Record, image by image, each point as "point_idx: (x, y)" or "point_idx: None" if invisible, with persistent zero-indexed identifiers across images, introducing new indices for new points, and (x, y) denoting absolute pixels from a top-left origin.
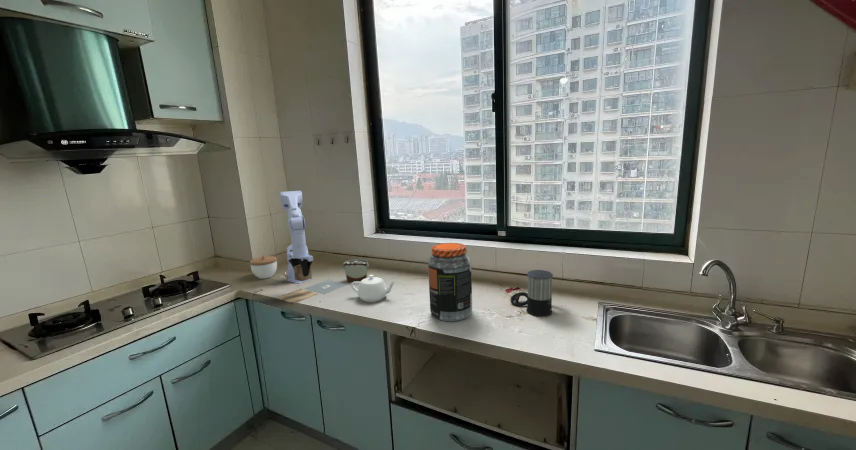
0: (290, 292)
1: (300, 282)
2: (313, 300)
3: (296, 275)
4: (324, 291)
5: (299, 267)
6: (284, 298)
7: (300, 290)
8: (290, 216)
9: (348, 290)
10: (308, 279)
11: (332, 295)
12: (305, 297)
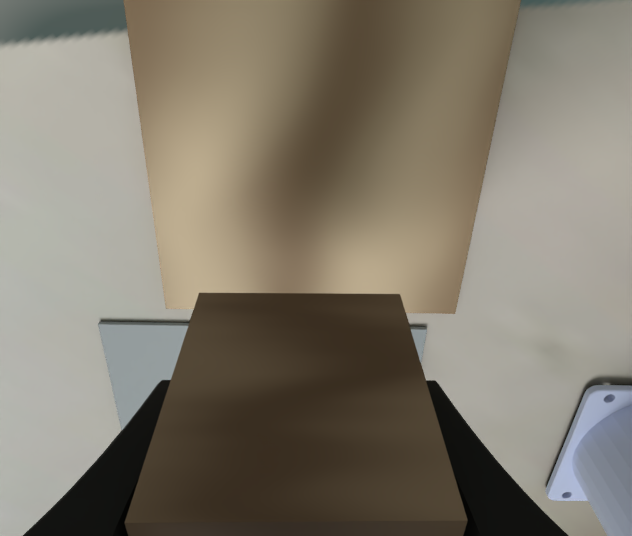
0: (480, 192)
1: (584, 406)
2: (38, 170)
3: (357, 348)
4: (167, 368)
5: (216, 528)
6: (391, 12)
7: (413, 280)
8: None
9: (21, 462)
10: (558, 473)
11: (16, 343)
12: (171, 171)
